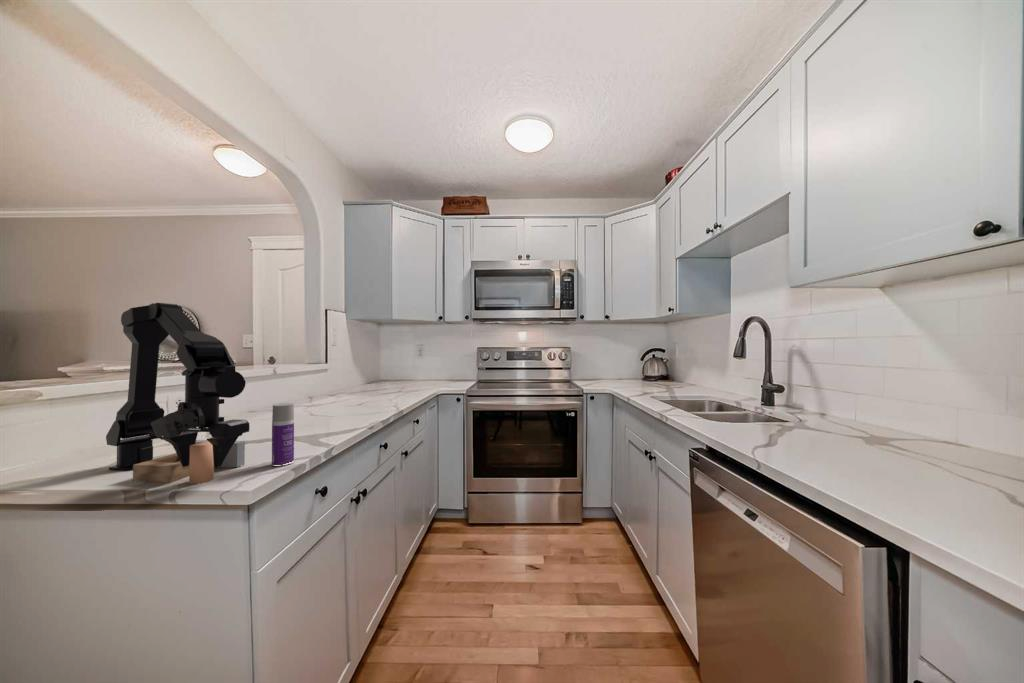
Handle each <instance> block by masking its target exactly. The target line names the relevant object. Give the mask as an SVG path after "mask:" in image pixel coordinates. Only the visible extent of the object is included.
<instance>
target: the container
mask: <svg viewBox="0 0 1024 683" xmlns="http://www.w3.org/2000/svg"><path fill="white" fill-rule="evenodd" d="M294 408H295V407H294V403H292V402H291V403H289V402H287V403H275V404H273V405H272V417H271V418H272V419H271V420H272V421H271V466H272V465H283V464H286V463H289V462H292V461H293V460H294V461H295V414H294V412H295V411H294V410H295V409H294Z"/></svg>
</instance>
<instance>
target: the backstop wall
mask: <svg viewBox="0 0 1024 683" xmlns="http://www.w3.org/2000/svg"><path fill="white" fill-rule="evenodd" d="M204 442H209V441H208V440H207V439H205V440H204V439H196V442H195V444H198V443H204ZM245 444H246V442H245V441H244V440H236V441H235V443H234V444H233V446H232V447H231V449H230V451H229V452H228V454H227V456H226V458H225V460H224V461H223V463H222V465H221V466H220V467H219V468H228V467H238V468H240V467H239V466H241V465H244V464H245V460H246V459H245V456H246V455H245V450H246V445H245ZM244 466H245V465H244ZM241 467H242V466H241Z"/></svg>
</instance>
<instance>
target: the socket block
mask: <svg viewBox="0 0 1024 683" xmlns="http://www.w3.org/2000/svg"><path fill="white" fill-rule="evenodd" d="M188 476H189V465H188V466H185V467H183V466H182V464H181V462H180V460H179V458H178V455H177V453H176V452H175V453H173V454H169V455H165V456H162V457H161V456H160V457H158V458H153V460H150V461H146V462H142V463H138V464H134V465H133V469H132V481H133V480H137V481H136V482H152V483H153V482H155V483H174V482H176V480H177V481H180V480H182V479H181V478H183V479H184V478H185V477H186V478H188ZM186 478H185V479H186ZM179 479H180V480H179Z"/></svg>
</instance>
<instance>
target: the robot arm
mask: <svg viewBox="0 0 1024 683" xmlns="http://www.w3.org/2000/svg"><path fill="white" fill-rule="evenodd" d="M120 322H121V325H122V328H123V330H122V331H123V334H124V335H125V336H126V337H127V339H128V340H129V341H130V343H131V353H130V354H131V356H130V367H129V368H130V369H129V380H128V391H127V392H128V393H127V401H126V402H125V403H124V404H123V406H121V407H120V408H119V410H118V411H117V412H116V416H115V420H114V421H113V422H112V425H111V426H110V428H109V430H108V432H107V433H106V435H105V440H106V445H107V446H111V447H116V465H112V466H109V467H108V470H114V471H116V470H119V471H121V470H122V471H131V470H132V471H133V465H134V464H138V463H142V462H146V461H150V460H153V459H154V445H153V444H154V442H153V440H157V439H158V440H159V439H160V440H161V441H162V440H163V441H165V442H167V443H169V444H171V446H172V448H173V449H174V451H175V454H176V453H177V455H178V458H179V460H180V462H181V464H182V466H183V467H185V466H188V465H189V464H190V446H191V445H193V444H195V442H196V440H197V438H198V433H209V435H210V436H211V437H210V438H206V440H208V441H209V442H210V443H211V444H212V445H213V461H214V467H215V468H214V469H218V468H221V467H220V466H221V465H222V463H223V461H224V460H225V458H226V456H227V454H228V452H229V451H230V449H231V447H232V446H233V444H234V443H235V441H238V440H237V439H238V438H239V437H241V436H243V434H245V433H249V432H250V422H249V421H248V420H247V419H228V420H225V416H220V405H222V404H223V405H224V404H225V398H227V399H228V398H235V397H238V396H239V395H240V394H242V392H244V390H245V387H246V380H245V376H243V375H242V373H240V372H238V371H236V365H235V364H234V363H235V360H233V358H232V356H231V355H230V353H229V351H228V349H227V347H226V345H225V343H223V342H222V341H221V340H220V339H218V338H217V337H215V336H213V335H210V334H207V333H204V332H203V331H201V329H200V328H199V327H198V326H197V325H196V324H195V323H194V322H193V321H192V320H191V319H190V318H189V317H188V316H187V315H186V313H185V312H184V309H183V307H182V306H181V305H178V304H175V303H167V302H164V303H163V302H155V303H154V302H153V303H150V304H148V305H143V306H142V305H141V306H137V307H136V306H135V307H134V306H133V307H130V308H129V309H127V310H125V311H123V312H122V314H121V318H120ZM169 336H170V337H171V339H173V341H174V342H175V343H176V344H177V346H178V347H177V349H176V355H177V358H178V360H179V361H180V362H181V364H182V365H183V366H184V367H185V368H186V369H184V370H183V371H182V372H181V376H183V377H185V379H184V380H185V381H184V382H185V384H184V401H181V402H179V404H177V410H176V411H172V412H170V413H167V414H165V409H164V408H162V407H161V406H160V405H159V404H158V403H157V401H156V393H157V382H158V381H157V380H158V369H159V356H160V355H159V354H160V346H161V345H162V343H163V342H164V341H165V340H166V338H168V337H169Z"/></svg>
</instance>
